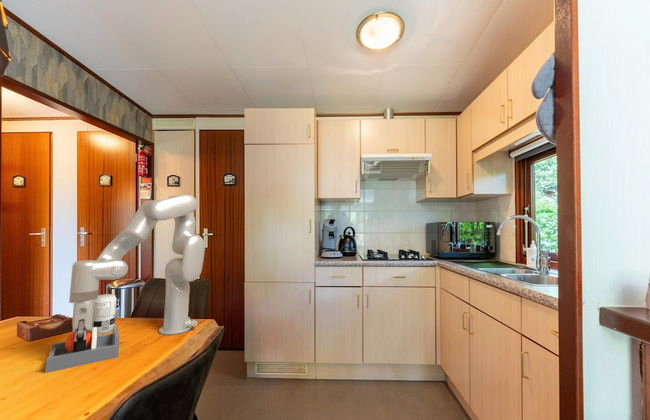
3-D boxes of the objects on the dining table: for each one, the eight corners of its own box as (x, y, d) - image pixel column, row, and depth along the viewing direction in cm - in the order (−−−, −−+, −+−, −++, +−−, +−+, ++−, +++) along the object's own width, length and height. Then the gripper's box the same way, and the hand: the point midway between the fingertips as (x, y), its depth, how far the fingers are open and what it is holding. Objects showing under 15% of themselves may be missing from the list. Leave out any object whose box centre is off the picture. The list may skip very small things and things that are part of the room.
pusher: (95, 345, 103) (96, 326, 103) (95, 356, 94) (96, 336, 94) (91, 346, 102) (92, 327, 103) (90, 357, 93) (92, 337, 94)
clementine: (77, 346, 100) (79, 326, 100) (98, 346, 100) (99, 326, 101) (58, 356, 92) (60, 334, 92) (80, 356, 92) (82, 334, 93)
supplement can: (85, 333, 117) (88, 297, 118) (105, 327, 125) (108, 293, 126) (98, 335, 115) (101, 298, 116) (118, 329, 123) (121, 294, 124)
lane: (115, 343, 108) (117, 325, 108) (118, 357, 96) (119, 336, 97) (51, 355, 96) (52, 335, 97) (45, 372, 85) (47, 349, 85)
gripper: (98, 299, 93) (93, 355, 91) (97, 290, 106) (93, 338, 105) (67, 303, 88) (62, 361, 87) (71, 293, 101) (66, 343, 100)
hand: (79, 348), depth 96 cm, fingers closed on clementine, 7 cm apart
